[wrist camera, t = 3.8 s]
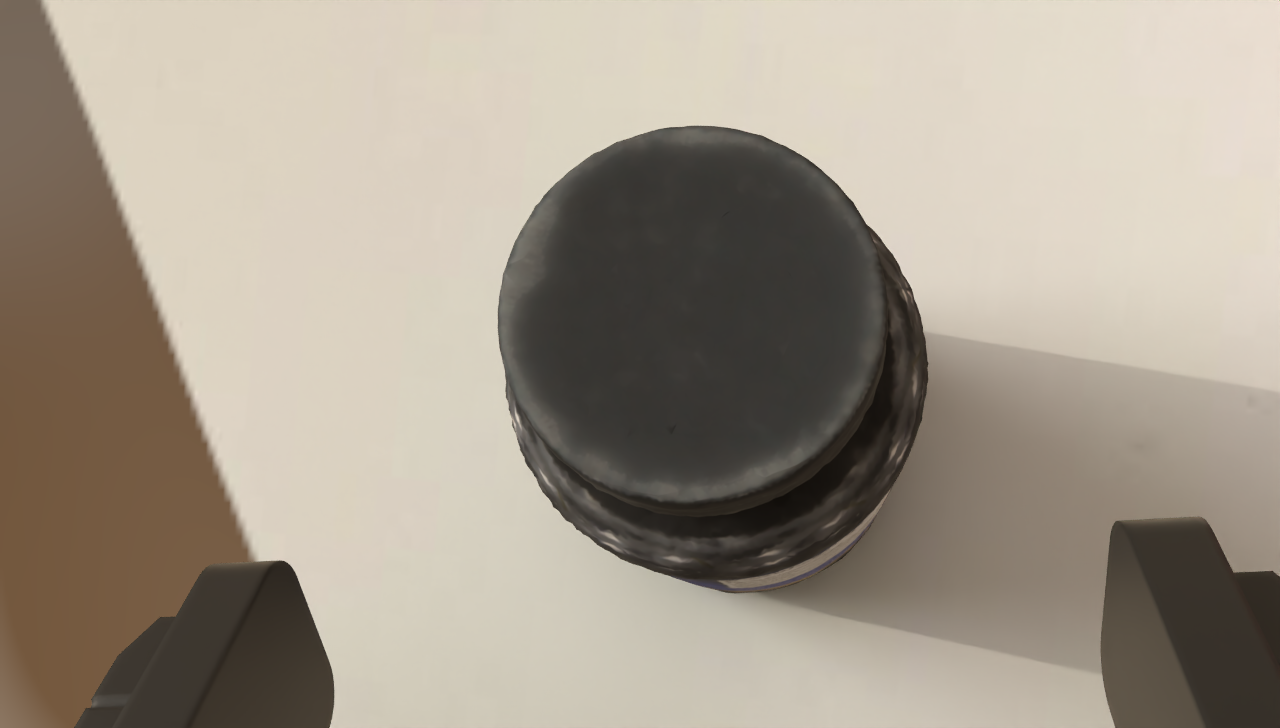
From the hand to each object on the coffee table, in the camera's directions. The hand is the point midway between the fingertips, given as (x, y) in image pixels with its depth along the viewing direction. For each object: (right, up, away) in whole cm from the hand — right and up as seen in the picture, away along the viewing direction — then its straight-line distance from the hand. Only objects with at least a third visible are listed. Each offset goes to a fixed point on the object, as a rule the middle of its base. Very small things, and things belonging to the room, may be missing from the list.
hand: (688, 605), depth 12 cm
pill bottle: (+2, +1, +13) cm, 13 cm away
